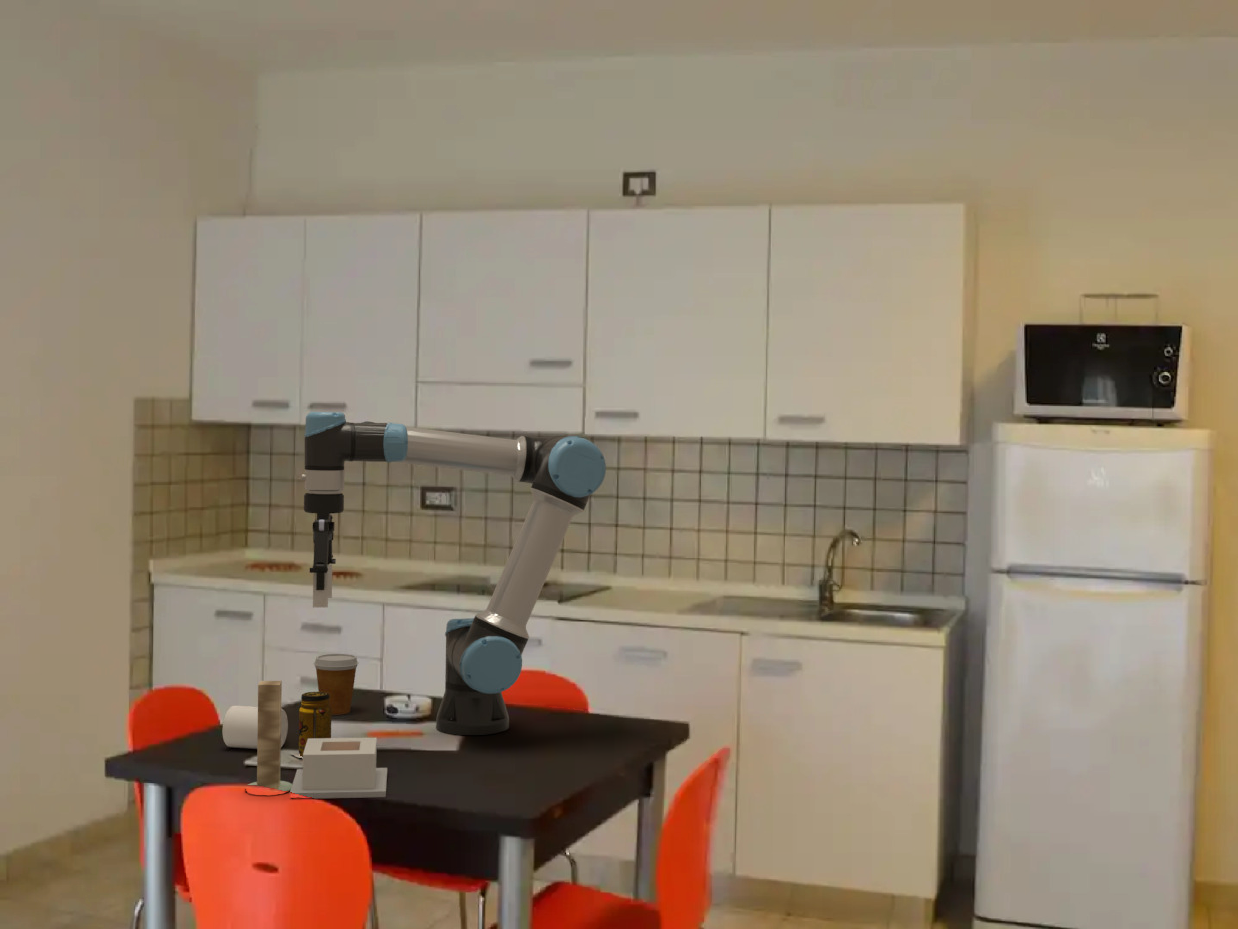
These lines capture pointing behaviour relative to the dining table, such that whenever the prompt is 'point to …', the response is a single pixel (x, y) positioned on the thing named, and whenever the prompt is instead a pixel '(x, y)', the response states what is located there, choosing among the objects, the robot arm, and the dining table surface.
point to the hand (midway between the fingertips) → (322, 602)
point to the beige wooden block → (269, 734)
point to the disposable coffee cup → (337, 680)
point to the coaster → (283, 785)
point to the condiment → (314, 718)
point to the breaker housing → (340, 769)
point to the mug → (246, 727)
